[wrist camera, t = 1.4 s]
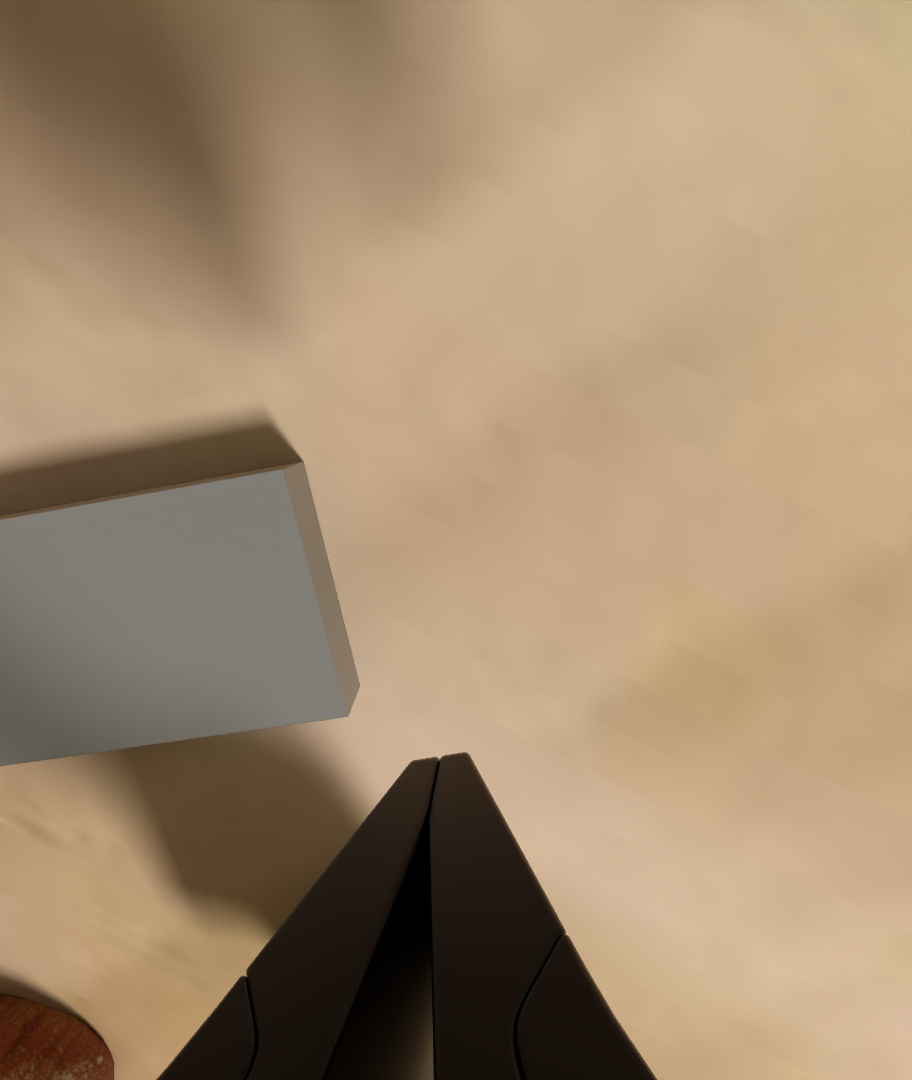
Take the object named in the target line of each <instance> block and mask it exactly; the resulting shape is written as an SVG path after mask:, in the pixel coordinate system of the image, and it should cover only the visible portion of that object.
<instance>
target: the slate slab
mask: <svg viewBox="0 0 912 1080" xmlns="http://www.w3.org/2000/svg"><path fill="white" fill-rule="evenodd" d="M359 687H360V684H359V680H358V676H357V672H356V668H355V664H354V660H353V656H352V652H351V648H350V644H349V640H348V636H347V632H346V628H345V624H344V620H343V616H342V612H341V608H340V604H339V600H338V596H337V592H336V588H335V584H334V581H333V577H332V573H331V569H330V565H329V561H328V557H327V553H326V549H325V545H324V541H323V537H322V533H321V529H320V525H319V521H318V517H317V513H316V509H315V505H314V501H313V497H312V493H311V489H310V485H309V481H308V477H307V473H306V470H305V466H304V462H303V461H302V462H297V463H291V464H286V465H280V466H275V467H269V468H263V469H258V470H252V471H247V472H241V473H236V474H230V475H225V476H219V477H213V478H208V479H202V480H197V481H191V482H186V483H180V484H174V485H169V486H163V487H158V488H152V489H147V490H141V491H136V492H130V493H124V494H119V495H113V496H108V497H102V498H97V499H91V500H86V501H80V502H74V503H69V504H63V505H58V506H52V507H47V508H41V509H35V510H30V511H24V512H19V513H13V514H8V515H2V516H0V766H5V765H12V764H19V763H26V762H33V761H40V760H47V759H54V758H61V757H68V756H75V755H82V754H89V753H96V752H104V751H111V750H118V749H125V748H132V747H139V746H146V745H153V744H160V743H167V742H174V741H181V740H188V739H195V738H202V737H209V736H216V735H223V734H230V733H237V732H244V731H251V730H258V729H265V728H272V727H279V726H286V725H293V724H300V723H307V722H314V721H321V720H328V719H335V718H342V717H348V716H349V713H350V711H351V708H352V705H353V703H354V700H355V697H356V695H357V692H358V690H359Z"/></svg>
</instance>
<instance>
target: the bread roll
mask: <svg viewBox="0 0 912 1080" xmlns="http://www.w3.org/2000/svg"><path fill="white" fill-rule="evenodd" d="M0 1080H114V1067H113V1059H112V1056H111V1054H110V1052H109V1050H108V1048H107V1047H106V1045H105V1044H104V1043H103V1042H102V1041H101V1039H100V1038H99V1037H98V1036H97V1035H96V1034H95V1033H94V1032H93V1031H92V1030H91V1029H90V1028H89V1027H88V1026H86V1025H85V1024H84V1023H83V1022H81V1021H80V1020H79V1019H77V1018H76V1017H74V1016H71V1015H69V1014H66V1013H63V1012H61V1011H59V1010H57V1009H52V1008H48V1007H46V1006H44V1005H42V1004H38V1003H35V1002H31V1001H28V1000H25V999H22V998H18V997H14V996H4V995H0Z"/></svg>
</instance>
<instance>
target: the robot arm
mask: <svg viewBox="0 0 912 1080" xmlns="http://www.w3.org/2000/svg"><path fill="white" fill-rule="evenodd" d="M246 975H247V977H246V976H242V977H240V978H239V979H238V981H237V982H236V983H235V984H234V986H233V987H232V988H231V990H230V991H229V992H228V993H227V995H226V996H225V997H224V998H223V1000H222V1001H221V1002H220V1003H219V1005H218V1006H217V1007H216V1008H215V1010H214V1011H213V1012H212V1013H211V1015H210V1016H209V1017H208V1018H207V1020H206V1021H205V1022H204V1023H203V1024H202V1026H201V1027H200V1028H199V1029H198V1030H197V1032H196V1033H195V1034H194V1035H193V1037H192V1038H191V1039H190V1040H189V1041H188V1043H187V1044H186V1045H185V1046H184V1048H183V1049H182V1050H181V1051H180V1052H179V1054H178V1055H177V1056H176V1057H175V1058H174V1060H173V1061H172V1062H171V1063H170V1065H169V1066H168V1067H167V1068H166V1069H165V1070H164V1071H163V1073H162V1074H161V1075H160V1076H159V1077H158V1078H157V1079H156V1080H657V1079H656V1077H655V1076H654V1074H653V1073H652V1071H651V1070H650V1068H649V1067H648V1065H647V1064H646V1062H645V1061H644V1059H643V1058H642V1056H641V1055H640V1053H639V1052H638V1050H637V1049H636V1047H635V1046H634V1044H633V1043H632V1041H631V1040H630V1038H629V1037H628V1035H627V1034H626V1032H625V1031H624V1029H623V1028H622V1026H621V1025H620V1023H619V1022H618V1020H617V1019H616V1017H615V1016H614V1014H613V1012H612V1011H611V1009H610V1007H609V1006H608V1004H607V1002H606V1000H605V999H604V997H603V995H602V994H601V992H600V990H599V989H598V987H597V985H596V984H595V982H594V980H593V978H592V977H591V975H590V973H589V972H588V970H587V968H586V967H585V965H584V963H583V961H582V959H581V957H580V956H579V954H578V952H577V950H576V948H575V946H574V945H573V943H572V941H571V939H570V937H569V936H567V935H566V931H565V929H564V927H563V925H562V923H561V922H560V920H559V918H558V916H557V914H556V912H555V911H554V909H553V907H552V905H551V903H550V901H549V900H548V898H547V896H546V894H545V892H544V890H543V889H542V887H541V885H540V883H539V881H538V879H537V878H536V876H535V874H534V872H533V870H532V868H531V867H530V865H529V863H528V861H527V859H526V857H525V856H524V854H523V852H522V850H521V848H520V847H519V845H518V843H517V841H516V839H515V837H514V836H513V834H512V832H511V830H510V828H509V826H508V825H507V823H506V821H505V819H504V817H503V815H502V814H501V812H500V810H499V808H498V806H497V804H496V803H495V801H494V799H493V797H492V795H491V793H490V792H489V790H488V788H487V786H486V784H485V782H484V781H483V779H482V777H481V775H480V773H479V771H478V770H477V768H476V766H475V764H474V762H473V760H472V759H471V757H470V755H469V754H468V753H466V752H463V753H457V754H451V755H445V756H443V757H442V758H441V759H439V758H437V757H432V758H426V759H419V760H414V761H412V762H411V763H410V764H409V765H408V766H407V767H406V769H405V770H404V771H403V772H402V774H401V775H400V776H399V778H398V779H397V780H396V781H395V783H394V784H393V785H392V786H391V788H390V789H389V790H388V791H387V793H386V794H385V795H384V797H383V798H382V799H381V800H380V802H379V803H378V804H377V805H376V807H375V808H374V809H373V810H372V812H371V813H370V814H369V815H368V817H367V818H366V819H365V821H364V822H363V823H362V824H361V826H360V827H359V828H358V829H357V831H356V832H355V833H354V834H353V836H352V837H351V838H350V839H349V841H348V842H347V843H346V845H345V846H344V847H343V848H342V850H341V851H340V852H339V853H338V855H337V856H336V857H335V858H334V860H333V861H332V862H331V864H330V865H329V866H328V867H327V869H326V870H325V871H324V872H323V874H322V875H321V876H320V877H319V879H318V880H317V881H316V882H315V884H314V885H313V886H312V888H311V889H310V890H309V891H308V893H307V894H306V895H305V896H304V898H303V899H302V900H301V901H300V903H299V904H298V905H297V906H296V908H295V909H294V910H293V912H292V913H291V914H290V915H289V917H288V918H287V919H286V920H285V922H284V923H283V924H282V925H281V927H280V928H279V929H278V931H277V932H276V933H275V934H274V936H273V937H272V938H271V939H270V941H269V942H268V943H267V944H266V946H265V947H264V948H263V949H262V951H261V952H260V953H259V955H258V956H257V957H256V958H255V960H254V961H253V962H252V963H251V965H250V966H249V967H248V969H247V971H246Z"/></svg>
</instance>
